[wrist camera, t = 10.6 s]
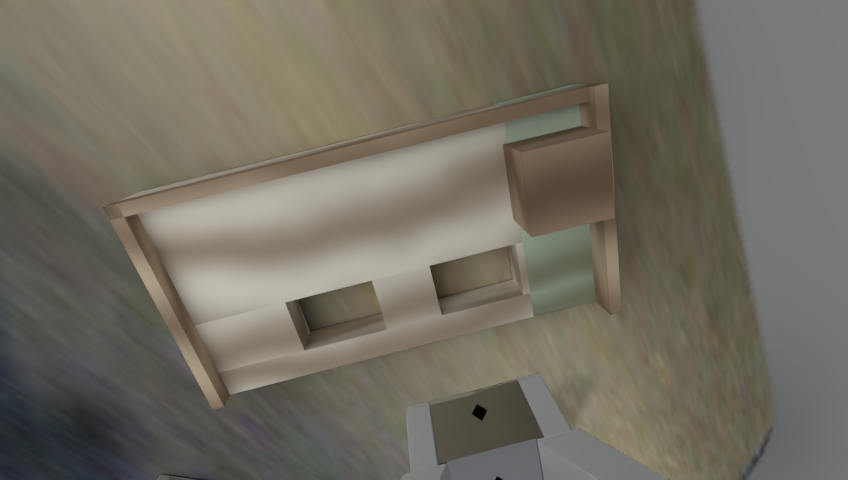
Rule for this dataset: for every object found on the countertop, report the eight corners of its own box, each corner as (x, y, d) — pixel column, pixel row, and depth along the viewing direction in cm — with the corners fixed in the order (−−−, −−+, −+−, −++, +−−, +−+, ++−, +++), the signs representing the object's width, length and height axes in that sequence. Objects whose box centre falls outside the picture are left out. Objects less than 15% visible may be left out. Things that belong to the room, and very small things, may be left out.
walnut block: (502, 144, 25) (520, 152, 22) (580, 125, 25) (610, 131, 22) (513, 219, 27) (532, 237, 24) (586, 202, 27) (614, 217, 24)
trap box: (139, 191, 26) (93, 211, 22) (572, 84, 27) (608, 83, 22) (230, 374, 32) (208, 418, 27) (589, 282, 32) (621, 311, 28)
